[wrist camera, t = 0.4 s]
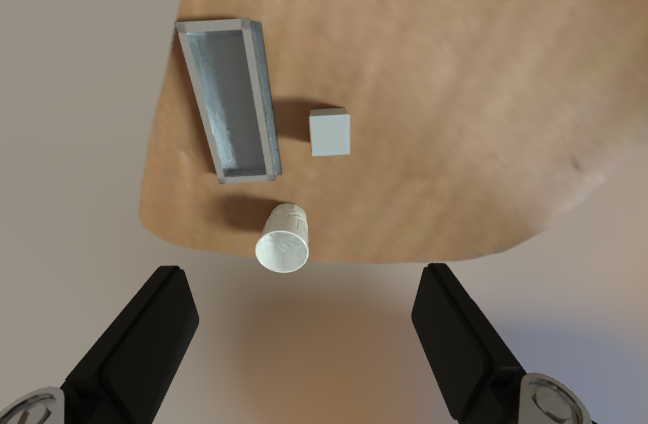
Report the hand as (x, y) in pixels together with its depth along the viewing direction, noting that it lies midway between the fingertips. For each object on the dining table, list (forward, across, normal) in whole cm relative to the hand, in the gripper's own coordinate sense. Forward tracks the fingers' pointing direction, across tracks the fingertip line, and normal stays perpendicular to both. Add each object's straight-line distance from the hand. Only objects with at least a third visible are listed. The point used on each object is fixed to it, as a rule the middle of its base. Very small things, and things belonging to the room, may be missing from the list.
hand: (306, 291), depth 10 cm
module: (+32, -2, -1) cm, 32 cm away
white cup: (+33, +4, +15) cm, 36 cm away
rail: (+32, +11, -4) cm, 34 cm away
